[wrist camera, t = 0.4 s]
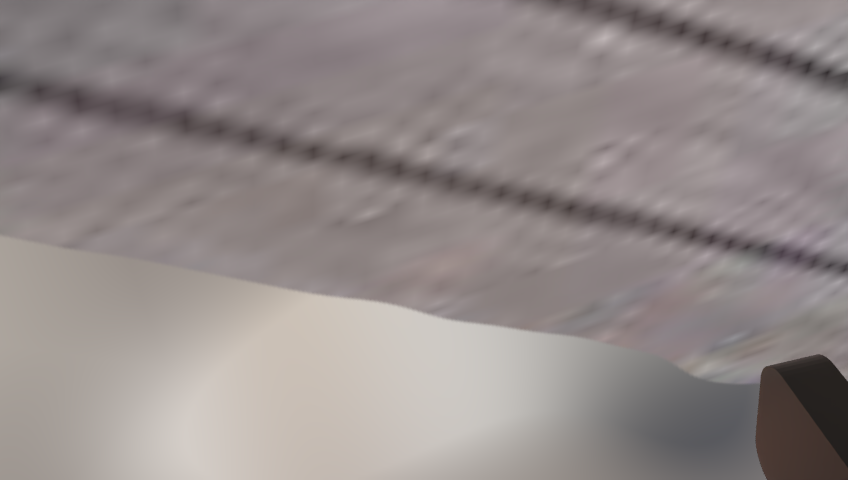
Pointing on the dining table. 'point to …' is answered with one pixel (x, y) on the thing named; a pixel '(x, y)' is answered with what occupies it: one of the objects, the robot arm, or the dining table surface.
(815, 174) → the dining table surface
